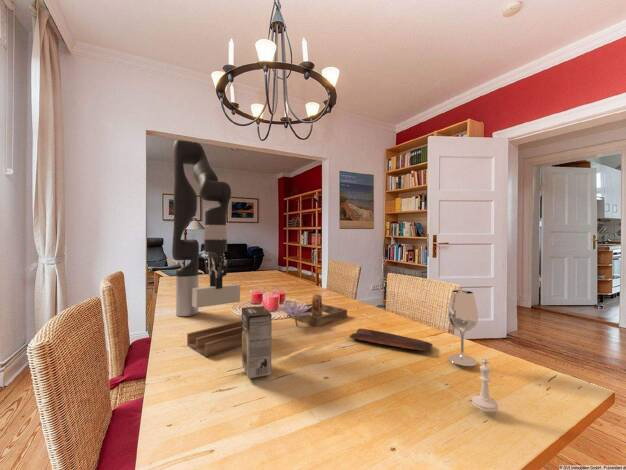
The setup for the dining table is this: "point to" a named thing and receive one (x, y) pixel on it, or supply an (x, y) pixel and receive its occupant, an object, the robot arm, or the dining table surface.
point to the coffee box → (256, 341)
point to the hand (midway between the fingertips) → (216, 287)
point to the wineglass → (462, 321)
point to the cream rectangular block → (215, 295)
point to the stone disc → (317, 305)
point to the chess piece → (484, 391)
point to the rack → (216, 339)
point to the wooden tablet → (391, 339)
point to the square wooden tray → (333, 316)
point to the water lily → (295, 310)
